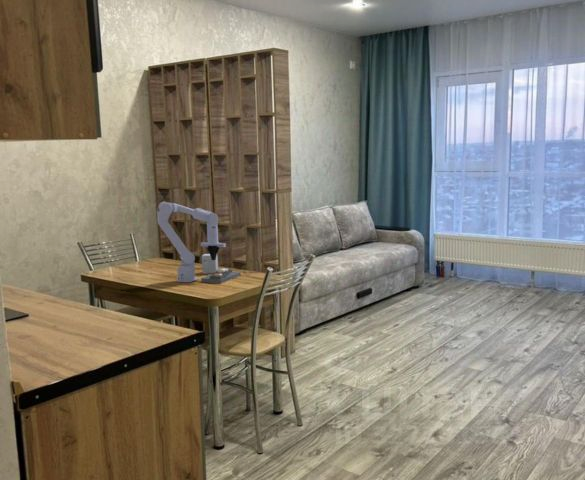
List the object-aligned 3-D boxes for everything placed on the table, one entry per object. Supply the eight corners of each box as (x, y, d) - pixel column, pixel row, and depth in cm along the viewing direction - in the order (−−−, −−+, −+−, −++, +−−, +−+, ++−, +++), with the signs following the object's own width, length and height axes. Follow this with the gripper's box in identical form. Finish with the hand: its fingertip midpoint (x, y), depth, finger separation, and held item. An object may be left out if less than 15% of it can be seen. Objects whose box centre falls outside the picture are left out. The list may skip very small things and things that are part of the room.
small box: (218, 271, 327) (217, 253, 326) (216, 273, 322) (215, 255, 320) (204, 271, 328) (204, 253, 327) (202, 273, 322) (201, 255, 321)
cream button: (222, 273, 304) (222, 269, 303) (215, 272, 305) (215, 269, 305) (226, 271, 308) (226, 268, 307) (219, 271, 309) (219, 267, 309)
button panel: (221, 283, 295) (220, 277, 295) (201, 281, 300) (200, 275, 299) (240, 275, 314) (240, 269, 314) (221, 274, 319) (221, 268, 318)
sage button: (225, 273, 311) (225, 269, 310) (218, 272, 312) (218, 269, 312) (229, 271, 315) (229, 268, 314) (222, 271, 316) (222, 268, 316)
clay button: (219, 278, 297) (219, 274, 297) (212, 278, 299) (212, 274, 299) (223, 276, 301) (223, 273, 301) (216, 276, 303) (216, 272, 303)
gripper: (228, 234, 307) (229, 259, 309) (205, 233, 313) (206, 258, 315) (221, 236, 301) (222, 261, 303) (198, 235, 307) (199, 260, 309)
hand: (213, 259), depth 309 cm, fingers closed
